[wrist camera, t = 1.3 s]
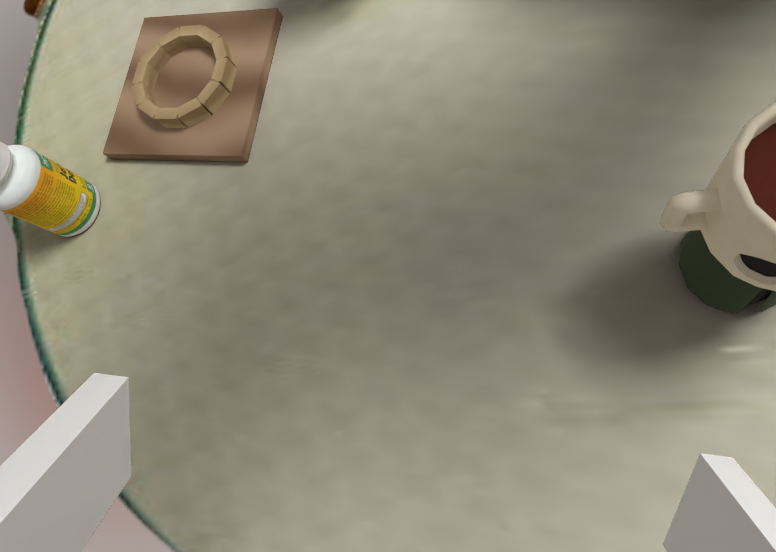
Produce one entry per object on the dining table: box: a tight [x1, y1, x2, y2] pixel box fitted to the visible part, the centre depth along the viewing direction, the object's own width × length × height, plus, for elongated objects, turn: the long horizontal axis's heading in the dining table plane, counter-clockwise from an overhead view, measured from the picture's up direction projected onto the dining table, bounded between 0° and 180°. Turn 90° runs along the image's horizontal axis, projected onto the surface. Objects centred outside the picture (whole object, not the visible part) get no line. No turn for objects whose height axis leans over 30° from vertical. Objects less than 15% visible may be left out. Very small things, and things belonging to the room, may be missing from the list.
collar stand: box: [103, 8, 282, 162], centre depth 48 cm, size 14×14×2 cm
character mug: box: [660, 101, 776, 313], centre depth 28 cm, size 11×7×13 cm, turn 90°
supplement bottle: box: [0, 142, 100, 237], centre depth 45 cm, size 5×5×10 cm
